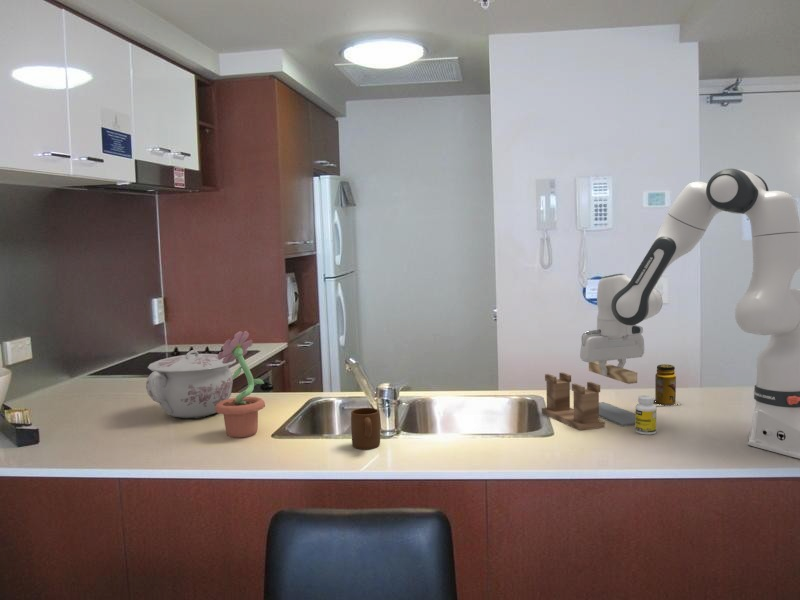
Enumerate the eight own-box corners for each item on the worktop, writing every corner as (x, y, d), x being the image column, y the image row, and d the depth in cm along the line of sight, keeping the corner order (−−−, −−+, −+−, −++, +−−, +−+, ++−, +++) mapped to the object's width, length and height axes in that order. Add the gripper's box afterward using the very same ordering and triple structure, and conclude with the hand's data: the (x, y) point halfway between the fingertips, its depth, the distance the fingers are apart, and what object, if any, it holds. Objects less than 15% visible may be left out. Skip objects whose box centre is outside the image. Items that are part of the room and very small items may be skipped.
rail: (637, 382, 204) (637, 372, 204) (628, 384, 203) (628, 373, 203) (597, 369, 223) (597, 360, 223) (588, 370, 222) (588, 361, 222)
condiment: (681, 405, 223) (681, 367, 222) (655, 406, 222) (655, 368, 220) (669, 399, 230) (669, 362, 229) (644, 401, 229) (644, 364, 228)
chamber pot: (234, 399, 248) (231, 340, 246) (243, 418, 222) (240, 353, 220) (149, 408, 240) (145, 347, 238) (148, 429, 214) (143, 360, 212)
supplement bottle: (632, 432, 195) (632, 397, 194) (640, 428, 199) (640, 393, 198) (651, 436, 191) (651, 400, 190) (659, 431, 195) (659, 396, 194)
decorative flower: (246, 424, 216) (240, 326, 213) (279, 430, 208) (274, 328, 205) (206, 437, 203) (200, 332, 200) (240, 444, 195) (234, 335, 192)
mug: (384, 453, 183) (383, 418, 182) (354, 456, 182) (353, 420, 181) (378, 440, 195) (377, 406, 194) (350, 442, 194) (349, 408, 193)
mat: (652, 422, 204) (652, 420, 204) (622, 426, 201) (622, 424, 201) (603, 403, 227) (603, 401, 227) (575, 407, 224) (575, 405, 224)
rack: (604, 427, 201) (604, 385, 200) (579, 430, 199) (579, 387, 197) (564, 409, 221) (564, 371, 220) (541, 412, 218) (541, 374, 217)
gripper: (587, 332, 206) (587, 379, 207) (647, 327, 212) (647, 373, 213) (575, 329, 211) (576, 375, 213) (634, 324, 218) (634, 369, 219)
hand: (612, 374), depth 213 cm, fingers closed on rail, 3 cm apart
